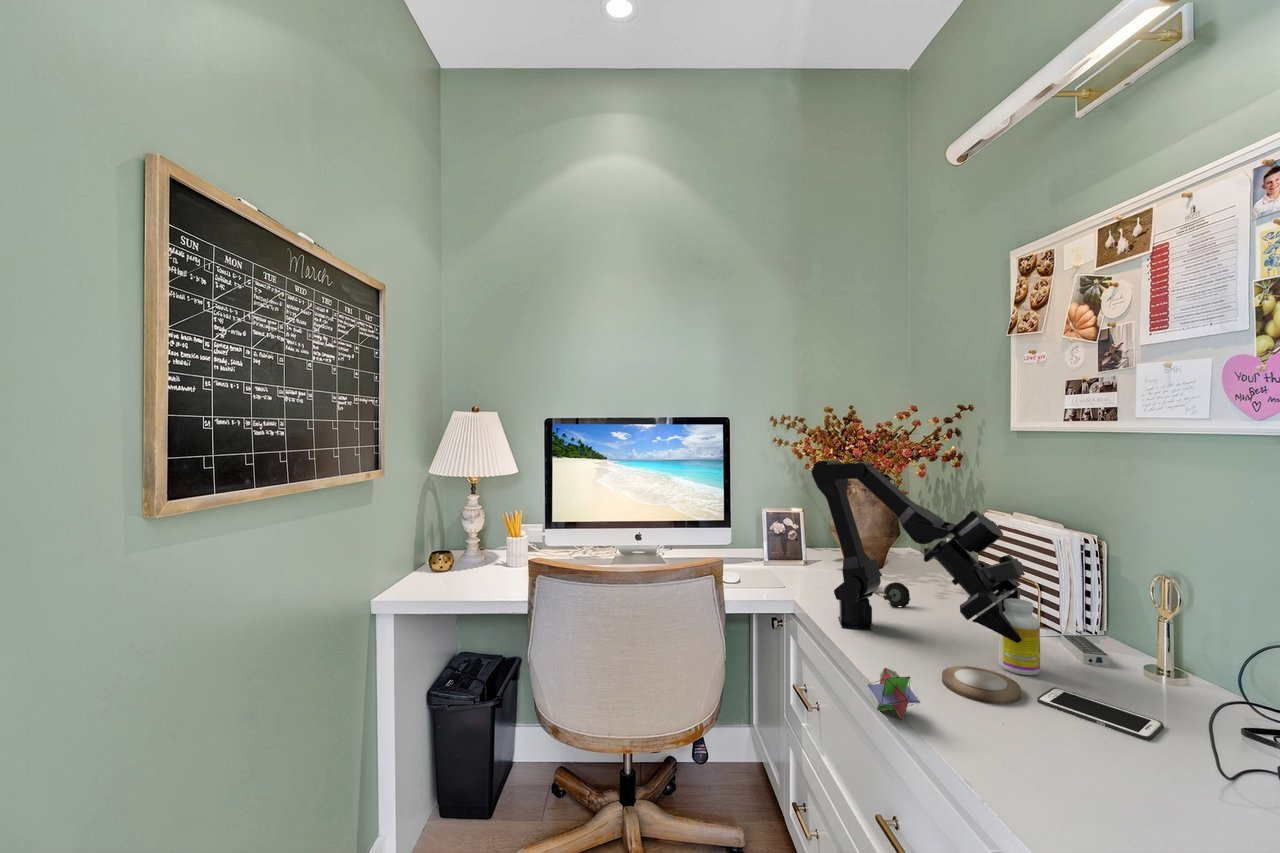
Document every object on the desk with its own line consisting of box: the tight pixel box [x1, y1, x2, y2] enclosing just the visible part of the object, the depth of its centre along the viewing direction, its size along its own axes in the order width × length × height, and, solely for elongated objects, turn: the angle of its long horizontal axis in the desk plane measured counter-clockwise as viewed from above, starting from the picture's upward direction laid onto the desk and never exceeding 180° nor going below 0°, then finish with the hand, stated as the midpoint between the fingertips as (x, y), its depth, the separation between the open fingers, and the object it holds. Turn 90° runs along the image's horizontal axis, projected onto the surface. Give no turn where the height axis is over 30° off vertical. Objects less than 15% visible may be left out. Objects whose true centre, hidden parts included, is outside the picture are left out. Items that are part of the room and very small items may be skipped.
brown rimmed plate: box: [941, 665, 1022, 705], centre depth 99 cm, size 12×12×2 cm
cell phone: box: [1036, 687, 1165, 742], centre depth 90 cm, size 8×15×1 cm, turn 34°
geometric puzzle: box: [866, 667, 921, 722], centre depth 90 cm, size 7×7×8 cm
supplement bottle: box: [997, 598, 1041, 676], centre depth 107 cm, size 7×7×13 cm
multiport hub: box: [1060, 634, 1111, 667], centre depth 114 cm, size 4×11×2 cm, turn 163°
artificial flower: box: [873, 581, 911, 608], centre depth 154 cm, size 9×22×10 cm, turn 6°
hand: (1026, 635), depth 106 cm, fingers open, 9 cm apart
